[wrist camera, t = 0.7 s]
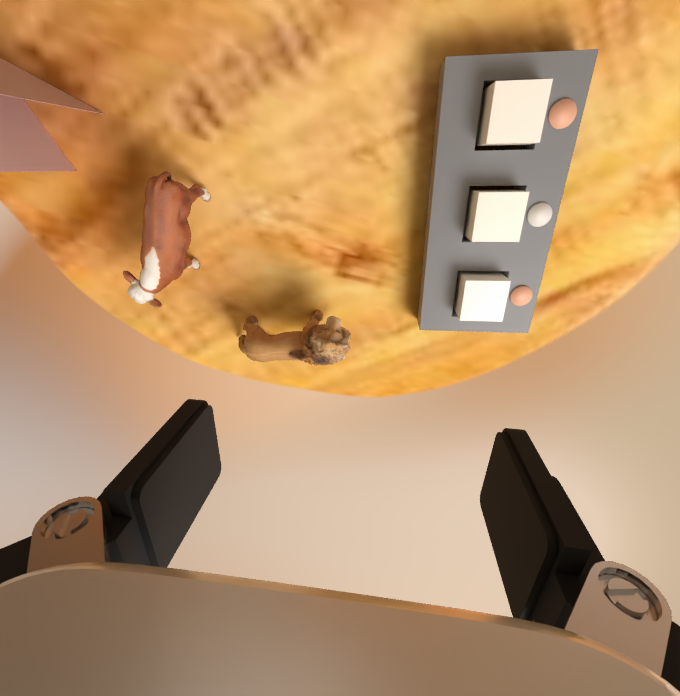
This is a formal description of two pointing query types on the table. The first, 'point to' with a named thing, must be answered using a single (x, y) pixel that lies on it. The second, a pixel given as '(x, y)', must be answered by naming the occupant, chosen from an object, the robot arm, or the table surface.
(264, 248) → the table surface
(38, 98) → the greeting card
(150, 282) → the bull figurine
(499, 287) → the outer button
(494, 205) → the middle button
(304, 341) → the lion figurine
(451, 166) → the button board
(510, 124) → the inner button
